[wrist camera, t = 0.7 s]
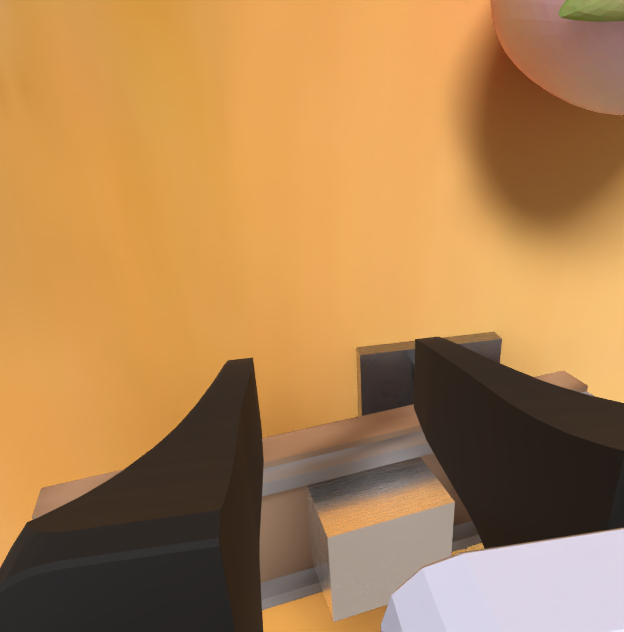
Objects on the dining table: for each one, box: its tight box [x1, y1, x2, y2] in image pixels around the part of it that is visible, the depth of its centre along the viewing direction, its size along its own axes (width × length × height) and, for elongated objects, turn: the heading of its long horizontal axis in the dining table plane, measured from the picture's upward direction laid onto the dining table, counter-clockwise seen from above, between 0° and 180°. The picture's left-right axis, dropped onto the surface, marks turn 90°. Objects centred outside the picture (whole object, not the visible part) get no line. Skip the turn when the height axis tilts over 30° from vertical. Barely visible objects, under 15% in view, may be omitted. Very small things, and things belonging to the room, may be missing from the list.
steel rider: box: [306, 457, 455, 622], centre depth 20 cm, size 5×4×3 cm
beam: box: [32, 371, 593, 610], centre depth 21 cm, size 23×7×4 cm, turn 94°
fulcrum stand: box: [357, 332, 502, 550], centre depth 24 cm, size 7×10×4 cm
